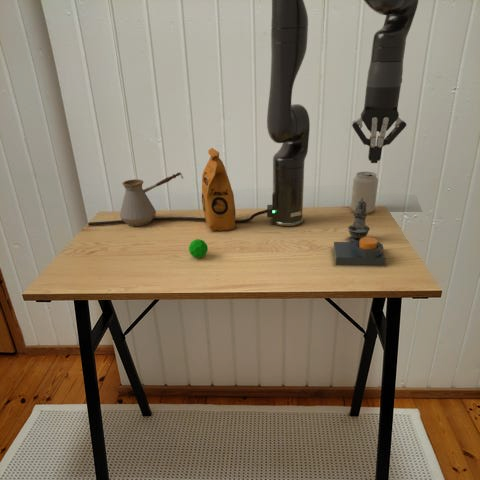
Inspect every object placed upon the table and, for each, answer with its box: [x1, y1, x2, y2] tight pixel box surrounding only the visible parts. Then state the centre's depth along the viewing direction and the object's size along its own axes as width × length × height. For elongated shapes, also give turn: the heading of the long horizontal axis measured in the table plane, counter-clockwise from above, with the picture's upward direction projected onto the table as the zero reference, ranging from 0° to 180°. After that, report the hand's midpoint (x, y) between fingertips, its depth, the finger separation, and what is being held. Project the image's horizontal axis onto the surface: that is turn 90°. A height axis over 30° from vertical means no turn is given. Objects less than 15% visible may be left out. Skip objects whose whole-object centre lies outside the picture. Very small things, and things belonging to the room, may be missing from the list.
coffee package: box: [201, 147, 237, 232], centre depth 136 cm, size 10×12×22 cm
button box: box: [332, 241, 386, 267], centre depth 117 cm, size 12×10×4 cm
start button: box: [359, 236, 379, 250], centre depth 114 cm, size 4×4×2 cm
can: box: [350, 171, 379, 215], centre depth 145 cm, size 8×8×12 cm
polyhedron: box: [188, 238, 209, 259], centre depth 121 cm, size 5×5×5 cm
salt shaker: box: [347, 199, 371, 242], centre depth 125 cm, size 6×6×12 cm
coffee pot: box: [119, 171, 184, 227], centre depth 143 cm, size 21×12×15 cm, turn 95°
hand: (373, 162), depth 112 cm, fingers closed
